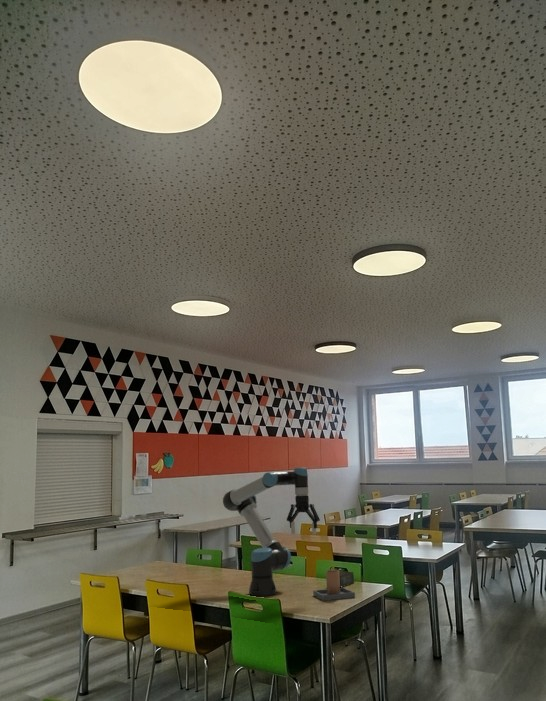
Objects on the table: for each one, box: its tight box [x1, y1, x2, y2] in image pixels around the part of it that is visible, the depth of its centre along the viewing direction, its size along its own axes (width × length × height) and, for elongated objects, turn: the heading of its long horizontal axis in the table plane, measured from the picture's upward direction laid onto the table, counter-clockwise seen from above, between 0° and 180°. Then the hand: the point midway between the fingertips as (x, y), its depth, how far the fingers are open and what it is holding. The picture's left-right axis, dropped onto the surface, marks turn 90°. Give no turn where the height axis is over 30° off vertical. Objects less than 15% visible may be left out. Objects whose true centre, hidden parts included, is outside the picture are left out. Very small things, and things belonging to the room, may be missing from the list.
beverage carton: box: [339, 571, 355, 588], centre depth 326 cm, size 8×19×7 cm, turn 144°
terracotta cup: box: [325, 569, 340, 595], centre depth 296 cm, size 7×7×12 cm
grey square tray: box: [312, 587, 356, 601], centre depth 295 cm, size 15×18×2 cm
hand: (303, 534), depth 313 cm, fingers open, 13 cm apart
